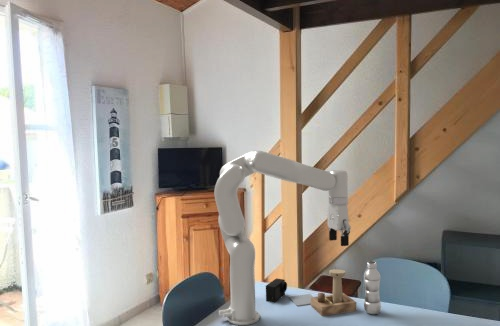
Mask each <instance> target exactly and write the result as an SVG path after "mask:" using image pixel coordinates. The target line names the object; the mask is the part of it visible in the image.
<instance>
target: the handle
mask: <svg viewBox="0 0 500 326" xmlns="http://www.w3.org/2000/svg"><path fill="white" fill-rule="evenodd" d="M328 273H329V276H331V277H332V295H333V303H334V304H335V303H342V299H343V293H344V292H343V284H342V283H343V281H342V278H343V277H345V276H346V270H344V269H335V268H334V269H329V271H328Z"/></svg>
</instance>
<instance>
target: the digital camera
mask: <svg viewBox="0 0 500 326" xmlns="http://www.w3.org/2000/svg"><path fill="white" fill-rule="evenodd" d="M287 289H288V283H287V282H286V280H285V279H282V278H275V279H273V280H272V281H270V282H269V283H267V284H266V285H265V301H266V302H269V303H274V304H276V303H277V302H278V301H279V300H281V299H282V298H283V297H284V296H285V295H286V292H287ZM281 297H282V298H281Z"/></svg>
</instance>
